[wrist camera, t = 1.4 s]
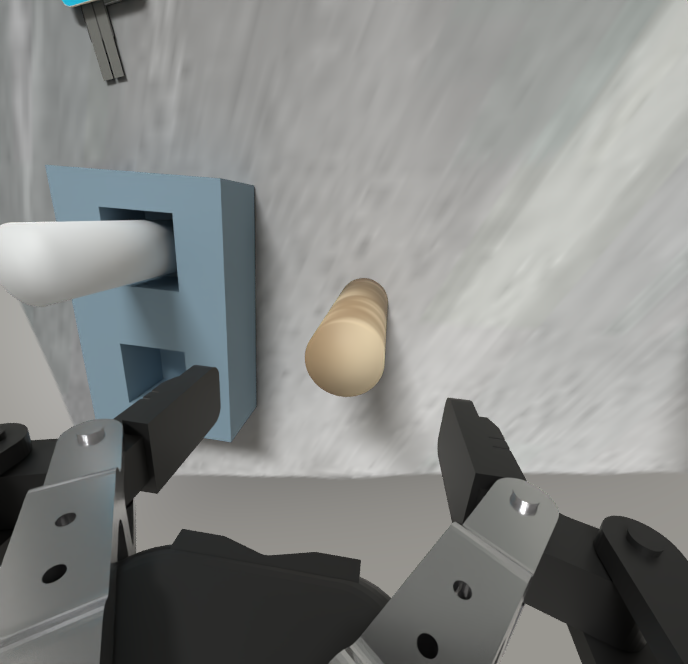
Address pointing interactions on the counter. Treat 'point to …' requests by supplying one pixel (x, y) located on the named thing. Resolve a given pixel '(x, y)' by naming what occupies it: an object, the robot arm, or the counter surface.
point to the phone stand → (100, 34)
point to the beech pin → (350, 341)
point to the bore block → (146, 281)
